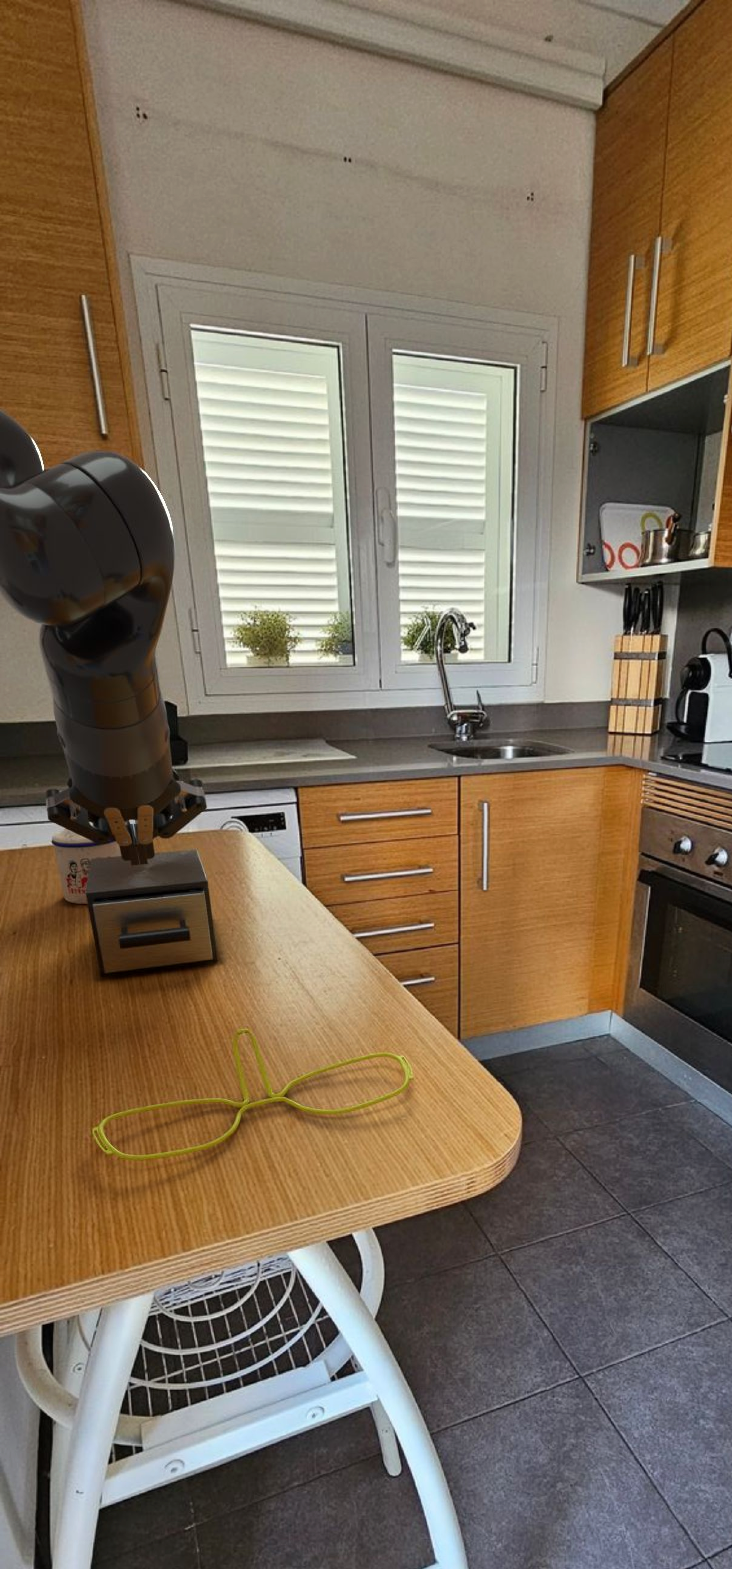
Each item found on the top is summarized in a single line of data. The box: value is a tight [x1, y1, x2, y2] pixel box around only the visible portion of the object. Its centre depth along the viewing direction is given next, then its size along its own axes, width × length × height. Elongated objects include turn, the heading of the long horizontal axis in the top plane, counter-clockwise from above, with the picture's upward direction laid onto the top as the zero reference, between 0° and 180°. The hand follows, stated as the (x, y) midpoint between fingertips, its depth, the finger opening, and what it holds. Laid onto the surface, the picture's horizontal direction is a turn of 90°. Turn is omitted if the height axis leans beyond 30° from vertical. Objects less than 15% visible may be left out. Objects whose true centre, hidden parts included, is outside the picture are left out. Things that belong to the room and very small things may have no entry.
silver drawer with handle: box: [93, 889, 213, 973], centre depth 96 cm, size 19×11×8 cm, turn 20°
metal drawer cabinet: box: [86, 848, 219, 977], centre depth 100 cm, size 16×13×10 cm
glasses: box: [91, 1028, 415, 1161], centre depth 66 cm, size 25×10×5 cm, turn 116°
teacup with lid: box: [51, 822, 121, 905], centre depth 120 cm, size 12×9×12 cm
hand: (138, 856), depth 77 cm, fingers closed
